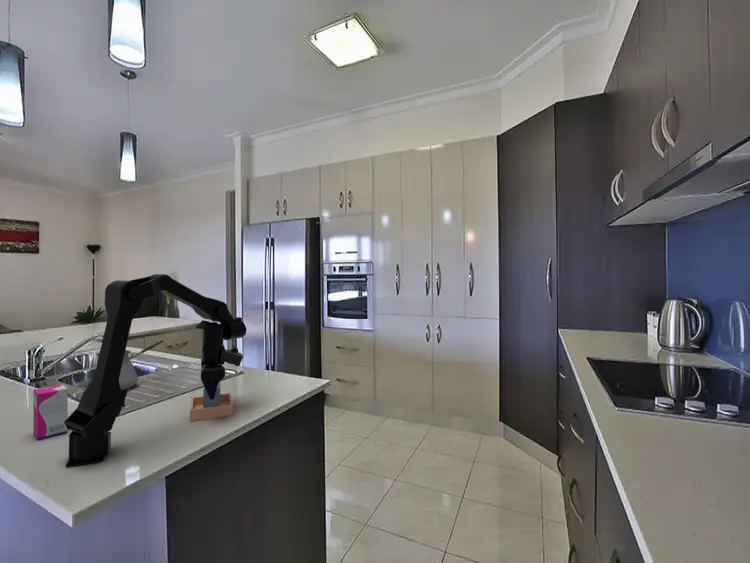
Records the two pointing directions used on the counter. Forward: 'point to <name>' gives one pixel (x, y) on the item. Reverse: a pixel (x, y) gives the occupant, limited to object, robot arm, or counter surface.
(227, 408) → the bin
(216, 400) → the block
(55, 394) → the supplement box
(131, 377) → the coffee pot
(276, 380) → the counter surface
